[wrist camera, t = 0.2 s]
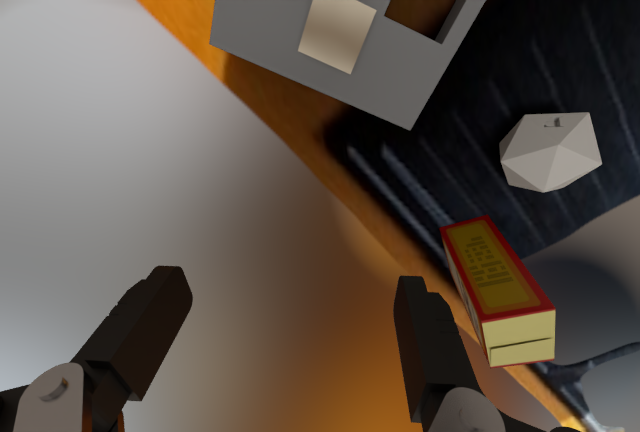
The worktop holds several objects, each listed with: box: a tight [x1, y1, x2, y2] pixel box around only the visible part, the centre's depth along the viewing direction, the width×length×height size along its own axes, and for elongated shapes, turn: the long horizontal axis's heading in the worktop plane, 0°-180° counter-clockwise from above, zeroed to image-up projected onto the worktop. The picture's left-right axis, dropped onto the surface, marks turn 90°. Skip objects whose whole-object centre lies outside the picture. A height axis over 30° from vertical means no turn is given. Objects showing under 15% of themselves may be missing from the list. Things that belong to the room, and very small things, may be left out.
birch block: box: [298, 0, 377, 74], centre depth 25 cm, size 5×5×3 cm
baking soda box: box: [439, 215, 555, 368], centre depth 37 cm, size 10×6×16 cm
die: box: [499, 113, 602, 192], centre depth 31 cm, size 8×9×10 cm
